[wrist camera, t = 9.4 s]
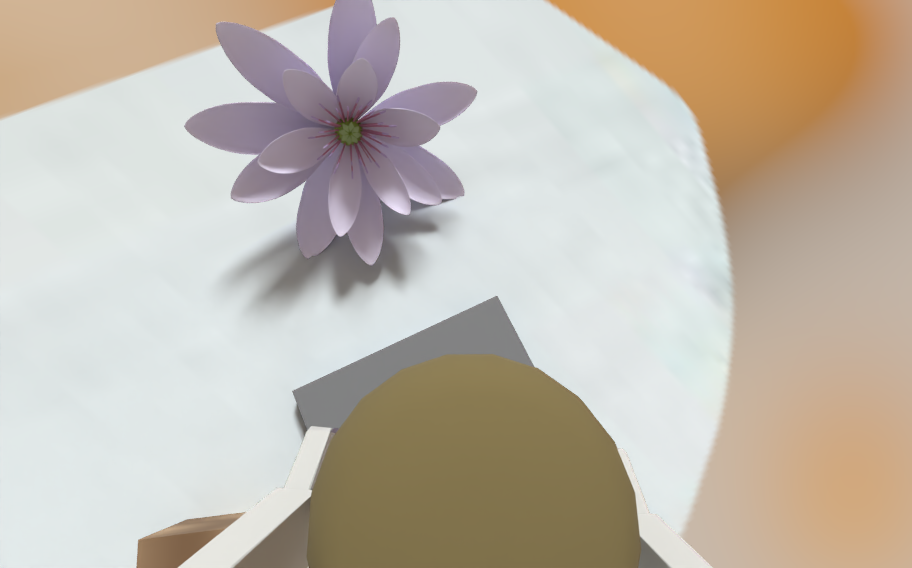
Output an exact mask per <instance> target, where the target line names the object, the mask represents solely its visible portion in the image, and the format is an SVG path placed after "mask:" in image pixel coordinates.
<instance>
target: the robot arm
mask: <svg viewBox="0 0 912 568" xmlns="http://www.w3.org/2000/svg"><path fill="white" fill-rule="evenodd" d="M338 430H339V428H327V427H317V426H311V427H310V428H309V429H308V430H307V432H306V434H305V437H304V439H303V441H302V444H301V446H300V449H299V451H298V454H297V456H296V459H295V461H294V464H293V466H292V468H291V471H290V473H289V476H288V478H287V481H286V483H285V486H284V488H276V489H274V490H273V491H272V492H271V493H269V494H268V495H267V496H266V497H264V498H263V499H262V500H261V501H259V502H258V503H257V504H256V505H255V506H253V507H252V508H251V509H250V510H248V511H247V512H246V513H245V514H243V515H242V516H241V517H240V518H238V519H237V520H236V521H235V522H233V523H232V524H231V525H230V526H229V527H227V528H226V529H225V530H224V531H222V532H221V533H220V534H219V535H217V536H216V537H215V538H214V539H212V540H211V541H210V542H209V543H208V544H206V545H205V546H204V547H203V548H201V549H200V550H199V551H198V552H196V553H195V554H194V555H193V556H191V557H190V558H189V559H188V560H186V561H185V562H184V563H183V564H182V565H180V566H179V567H178V568H307V567H308V561H307V544H308V529H309V515H310V500H311V493H312V489H313V487H314V484H315V481H316V478H317V476H318V473H319V470H320V468H321V465H322V462H323V459H324V457H325V454H326V451H327V449H328V446H329V443H330V441H331V439H332V438H333V436H334V435H335V434H336V432H337V431H338ZM617 449H618V452H619V454H620V457H621V459H622V462H623V464H624V466H625V469H626V471H627V474H628V476H629V479H630V481H631V484H632V486H633V489H634V491H635V496H636V505H637V514H638V523H639V533H640V542H641V554H640V560H639V566H638V568H713V567H711V565H709V564H708V563H707V562H706V561H705V560H704V559H703V558H702V557H701V556H700V555H699V554H698V553H697V552H696V551H695V550H694V549H693V548H692V547H691V546H689V545H688V544H687V543H686V542H685V541H684V540H683V539H682V538H681V537H680V536H679V535H678V534H677V533H676V532H675V531H674V530H673V529H672V528H671V527H670V526H669V525H667V524H666V523H665V522H664V521H663V520H662V519H661V518H660V517H659V516H658V515H657V514H650V512H649V510H648V507H647V505H646V502H645V499H644V497H643V494H642V491H641V489H640V486H639V484H638V481H637V478H636V476H635V473H634V470H633V468H632V465H631V463H630V460H629V457H628V455H627V452H626V451H625V450H624V449H619V448H617Z"/></svg>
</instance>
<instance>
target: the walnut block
mask: <svg viewBox="0 0 912 568" xmlns="http://www.w3.org/2000/svg"><path fill="white" fill-rule="evenodd" d="M245 513H246V512H243V513H236V514H228V515H220V516H212V517H204V518H196V519H188V520H185V521H183V522H180V523H178V524H175V525H173V526H170V527H168V528H166V529H163V530H161V531H158V532H156V533H154V534H151V535H149V536H146V537H144V538H142V539H139V540H138V554H137V568H178V567H179V566H180V565H182V564H183V563H184V562H185V561H186V560H188V559H189V558H190V557H191V556H193V555H194V554H195V553H196V552H198V551H199V550H200V549H201V548H203V547H204V546H205V545H206V544H208V543H209V542H210V541H211V540H212V539H214V538H215V537H216V536H217V535H219V534H220V533H221V532H222V531H224V530H225V529H226V528H227V527H229V526H230V525H231V524H232V523H233V522H235V521H236V520H237V519H238V518H240V517H241V516H242V515H243V514H245Z"/></svg>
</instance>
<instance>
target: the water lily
mask: <svg viewBox="0 0 912 568" xmlns="http://www.w3.org/2000/svg"><path fill="white" fill-rule="evenodd" d="M216 33H217V36H218V39H219V42H220V44H221V46H222V48H223V50H224V52H225V53H226V55H227V57H228V58H229V60H230V61H231V62H232V64H233V65H234V66H235V68H236V69H237V70H238V71H239V72H240V73H241V75H242V76H243V77H244V78H245V79H246V80H247V81H248V82H250V83H251V84H252V85H253V86H254V87H255V88H257V89H258V90H259V91H261V92H262V93H264V94H265V95H266V96H268V97H269V98H270V99H272V100H273V101H275V102H277V103H274V102H238V103H229V104H223V105H219V106H215V107H211V108H208V109H205V110H204V111H201V112H199V113H197V114H195V115H194V116H192V117H191V118H190V119H189V120H188V121H187V122H186V123H185V125H184V127H185V129H186V130H187V131H188V132H189V133H190V134H191V135H193V136H194V137H195V138H197V139H199V140H200V141H202V142H204V143H206V144H208V145H210V146H213V147H216V148H218V149H222V150H225V151H229V152H234V153H240V154H251V155H258V156H257V157H256V158H255V159H253V160H252V161H251V162H250V163H249V164H248V165H247V166H246V167H245V168H244V169H243V171H242V172H241V173H240V174H239V176H238V178H237V179H236V181H235V183H234V185H233V187H232V190H231V198H232V199H233V200H235V201H238V202H243V203H259V202H265V201H269V200H273V199H276V198H278V197H281V196H283V195H285V194H287V193H289V192H290V191H292V190H293V189H295V188H296V187H298V186H299V185H301V184H302V183H304V182H305V181H306V183H305V185H304V189H303V192H302V196H301V200H300V205H299V209H298V214H297V223H296V231H297V241H298V244H299V248H300V250H301V252H302V254H303V256H304V257H305V258H307V259H309V258H310V257H311V256H316V255H318V254H320V253H321V252H322V251H323V250H325V249H326V248H327V246H328V245H329V244H330V243H331V242H332V240H333V239H334V237H335V236H336V234H337V235H338V236H339V237H342V236H344V235H345V234H346V233H347V234H348V237H349V239H350V241H351V244H352V246H353V247H354V249H355V251H356V252H357V254H358V255H359V256H360V258H361V259H362V260H363V261H364V262H365V263H367V264H368V265H371V266H372V265H373V264H374V263H375V262H376V260H377V258H378V256H379V254H380V251H381V248H382V242H383V232H384V225H383V215H382V209H381V202H380V199H381V200H382V201H383V202H384V203H385V204H386V205H387V206H388V207H389V208H391V209H392V210H394V211H396V212H398V213H400V214H403V215H410V212H411V203H410V199H412V200H414V201H417V202H419V203H422V204H427V205H439V204H441V202H442V199H455V198H457V197H459V196H464V188H463V186H462V183H461V182H460V180H459V178H458V177H457V175H456V174H455V173H454V172H453V171H452V169H451V168H450V167H449V166H448V165H447V164H445V163H444V162H443V161H442V160H440V159H439V158H438V157H436V156H435V155H433V154H432V153H430V152H429V151H427V150H426V149H424V148H422V147H421V146H419V145H422V144H425V143H427V142H428V141H430V140H431V139H433V138H434V137H435V136H436V135H437V133H438V132H439V130H440V126H441V125H443V124H445V123H447V122H449V121H451V120H453V119H454V118H456V117H457V116H459V115H460V114H461V113H462V112H464V111H465V110H466V109H467V108H468V107H469V106H470V104H471V103H472V102H473V100H474V99H475V97H476V95H477V90H476V89H475V88H474V87H472V86H469V85H467V84H463V83H458V82H436V83H430V84H426V85H422V86H418V87H415V88H411V89H408V90H405V91H402V92H399V93H397V94H395V95H393V96H391V97H390V98H388V99H386V100H384V101H383V102H381V103H380V104H378V105H377V106H375V107H374V108H373V109H372V110H370V111H369V112H368V113H366V112H367V111H368V110H369V109H370V108H371V107H372V106H373V105H374V104H375V103H376V102H377V101H378V100H379V98H380V97H381V96H382V95H383V93H384V92H385V90H386V88H387V87H388V85H389V82H390V80H391V78H392V76H393V73H394V71H395V68H396V65H397V61H398V56H399V50H400V32H399V27H398V23H397V21H396V19H395V18H394V17H390V18H387V19H385V20H383V21H382V22H380V23H379V24H378V25H377V24H376V17H375V11H374V7H373V3H372V0H336V2H335V4H334V7H333V11H332V15H331V19H330V25H329V34H328V69H329V75H330V80H331V85H332V89H333V91H332V90H331V89H330V88H329V87H328V86H327V85H326V84H325V83H324V82H323V81H322V80H321V78H320V77H319V76H318V75H317V73H316V72H315V71H314V70H313V69H312V68H311V67H310V66H309V65H308V64H306V63H305V62H304V61H303V60H301V59H300V58H299V57H298V56H297V55H295V54H294V53H293V52H292V51H290V50H289V49H288V48H286V47H285V46H284V45H282V44H281V43H279V42H278V41H276V40H275V39H273V38H271V37H269V36H267V35H266V34H264V33H262V32H260V31H257V30H255V29H253V28H250V27H247V26H243V25H240V24H237V23H230V22H219V23H217V24H216ZM365 113H366V114H365ZM364 114H365V115H364ZM363 115H364V116H363ZM362 116H363V117H362ZM360 117H362V118H360ZM359 118H360V119H359ZM358 119H359V120H358Z"/></svg>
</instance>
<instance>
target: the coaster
mask: <svg viewBox="0 0 912 568" xmlns="http://www.w3.org/2000/svg"><path fill="white" fill-rule="evenodd" d="M446 354H494V355H497V356H501V357H504V358H507V359H510V360H513V361H516V362H519V363H523V364H526V365H529V366H532V367H534V366H533V364H532V362H531V360H530V358H529V356H528V354H527V352H526V350H525V348H524V346H523V344H522V343H521V341H520V339H519V337H518V335H517V333H516V331H515V329H514V327H513V325H512V323H511V321H510V320H509V318H508V316H507V314H506V312H505V310H504V308H503V306H502V304H501V302H500V300H499V298H498V296H495V297H493V298H491V299H489V300H487V301H485V302H483V303H480V304H478V305H476V306H474V307H472V308H470V309H468V310H465V311H463V312H461V313H459V314H457V315H455V316H453V317H450V318H448V319H446V320H444V321H442V322H440V323H438V324H435V325H433V326H431V327H429V328H427V329H425V330H423V331H420V332H418V333H416V334H414V335H412V336H410V337H408V338H405V339H403V340H401V341H399V342H397V343H395V344H392V345H390V346H388V347H386V348H384V349H382V350H380V351H377V352H375V353H373V354H371V355H369V356H367V357H365V358H362V359H360V360H358V361H356V362H354V363H352V364H350V365H347V366H345V367H343V368H341V369H339V370H337V371H335V372H332V373H330V374H328V375H326V376H324V377H322V378H320V379H317V380H315V381H313V382H311V383H309V384H307V385H304V386H302V387H300V388H298V389H296V390H294V391H292V392H293V394H294V397H295V400H296V402H297V405H298V407H299V410H300V413H301V415H302V418H303V421H304V423H305V426H306V428H307V430H308V429H309V428H310V427H311V426H317V427H327V428H340V427H341V426H342V424H343V423H344V422H345V420H346V419H347V418H348V416H349V415H350V414H351V412H352V411H353V410H354V408H355V407H356V406H357V404H358V403H359V402H360V400H361V399H362V398H363V397H364V396H366V395H367V394H369V393H370V392H371V391H373V390H374V389H375V388H377V387H378V386H380V385H381V384H382V383H384V382H385V381H386V380H388V379H389V378H391V377H392V376H393V375H395V374H396V373H397V372H399V371H400V370H401V369H404V368H407V367H410V366H413V365H416V364H419V363H422V362H425V361H428V360H431V359H434V358H437V357H440V356H443V355H446Z"/></svg>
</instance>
